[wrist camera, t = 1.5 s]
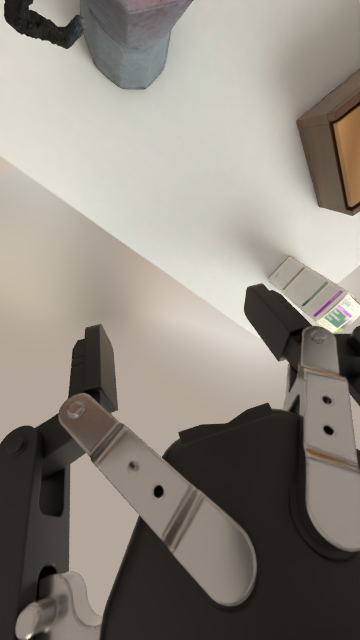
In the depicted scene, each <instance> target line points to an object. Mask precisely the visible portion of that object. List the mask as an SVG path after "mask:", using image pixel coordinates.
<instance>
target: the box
mask: <svg viewBox="0 0 360 640" xmlns="http://www.w3.org/2000/svg"><path fill="white" fill-rule="evenodd" d="M359 103H360V69H359V70H358V71H357V72H355V73H354V74H353V75H352V76H350V77H349V78H348V79H347V80H346V81H344V82H343V83H342V84H341V85H340V86H338V87H337V88H336V89H335V90H333V91H332V92H331V93H330V94H329V95H327V96H326V97H325V98H324V99H322V100H321V101H320V102H319V103H318V104H316V105H315V106H314V107H313V108H312V109H310V110H309V111H308V112H307V113H305V114H304V115H303V116H302V117H301V118H299V119H298V120H297V125H298V129H299V132H300V136H301V140H302V144H303V147H304V151H305V155H306V159H307V162H308V166H309V170H310V174H311V177H312V181H313V185H314V189H315V192H316V196H317V200H318V204H319V207H323V208H326V209H329V210H333V211H337V212H341V213H344V214H348V215H352V216H354V215H355V214H356V213H358V212H359V211H360V202H359V203H357V204H356V205H354V206H353V207H350V206H348V202H347V197H346V191H345V186H344V180H343V175H342V169H341V164H340V159H339V153H338V148H337V142H336V137H335V132H334V126H333V124H334V123H335V122H336V121H337V120H339V119H340V118H341V117H343V116H344V115H345V114H346V113H348V112H349V111H350V110H351V109H353V108H354V107H355V106H357V105H358V104H359Z"/></svg>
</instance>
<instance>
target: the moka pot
mask: <svg viewBox="0 0 360 640" xmlns="http://www.w3.org/2000/svg"><path fill="white" fill-rule="evenodd" d="M192 1H193V0H80V15H76V16H75V17H74V18H73V19H72V20H71V21H70V23H69V24H68V25H67V26H66V27H57V26H56V25H55V24H54V23H53V22H52V21H51V20H50V19H46V18H44V17H43V16H41V15H39V14H38V13H37V12H35V11H33V10H29V5H31V4H32V3H33V0H5V4H4V17H5V20H6V22H7V23H8V24H9V25H11V26H12V27H13V28H14V29H15V30H16V31H17V32H18V33H20V34H21V35H22V34H25V35H26V36H29V37H32V38H35V39H37V38H39V39H41V40H42V41H43V40H48V41H50V42H51V43H52V44H57V45H58V46H61V47H63V48H65V49H68V48H70V47H71V46H72V45H73V44H74V43H75V41H76V40H77V39H78V38H79V37H80V36H81V35H82V33H83V34H84V36H85V39H86V42H87V45H88V48H89V50H90V53H91V55H92V58H93V60H94V64H95V65H96V67H97V68H98V69H99V70H100V71H101V72H102V73H103V74H104V75H105V76H106V77H107V78H108V79H110V80H111V81H112V82H113V83H115V84H116V85H117V86H119V87H120V88H123V89H146V88H147V87H148V86H149V85H150V84H151V83H152V82H153V81H154V80H155V79H156V78H157V76H158V75H159V74H160V73H161V72H162V70H163V69H164V67H165V62H166V57H167V51H168V46H169V40H170V33H171V29H172V28H173V26H174V25H175V23H176V22H177V21H178V19H179V18H180V17H181V16H182V14H183V13H184V12H185V10H186V9H187V8H188V6H189V5H190V4H191V2H192Z"/></svg>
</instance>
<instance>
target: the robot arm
mask: <svg viewBox="0 0 360 640" xmlns="http://www.w3.org/2000/svg"><path fill="white" fill-rule="evenodd" d="M244 312H245V315H246V317H247V319H248V320H249V322H250V323H251V324H252V326H253V327H254V328H255V330H256V331H257V333H258V334H259V335H260V337H261V338H262V340H263V341H264V342H265V344H266V345H267V346H268V348H269V349H270V351H271V352H272V353H273V354H274V356H275V357H276V359H277V360H278V361H283V360H286V359H287V361H288V362H289V364H288V373H287V385H286V396H285V401H284V405H283V409H282V410H281V409H271V407H270V405H269V403H266V404H263V405H259V406H256V407H253V408H250V409H248V410H246V411H244V412H243V413H241V414H240V415H239V416H237V417H236V418H234V419H233V420H232V421H230V422H229V423H225V424H206V425H199V426H196V427H193V428H190V429H187V430H184V431H181V432H179V436H180V438H179V439H178V440H177V441H175V442H174V443H173V444H172V445H171V446H170V447H169V448H168V449H167V450H166V451H165V453H164V455H163V456H162V457H161V456H159V455H158V454H157V453H156V452H155V451H154V450H153V449H152V448H151V447H149V446H148V445H147V444H146V443H145V442H144V441H143V440H142V439H140V438H139V437H138V436H137V435H136V434H135V433H134V432H132V431H131V430H130V429H129V428H128V427H127V426H125V425H124V424H122V423H120V422H119V421H118V420H117V419H115V418H114V417H113V416H112V414H111V412H114V411H117V410H118V404H117V392H116V378H115V365H114V353H113V348H112V345H111V342H110V340H109V338H108V336H107V334H106V332H105V330H104V328H103V326H102V325H101V324H99V325H95V326H91V327H87V328H86V329H85V339H81V340H78V341H77V343H76V345H75V346H74V348H73V352H72V364H71V366H72V368H71V375H70V386H69V396H68V399H67V400H66V401H65V402H64V404H63V405H62V406H61V408H60V410H59V413H58V414H56V415H55V416H54V417H52V418H51V419H49V420H48V421H46V422H44V423H43V424H41V425H40V426H38V427H36V428H33V427H32V426H22V427H19V428H17V429H15V430H13V431H12V432H10V433H9V434H8V435H7V436H6V437H5V438H4V439H3V441H2V442H1V444H0V640H360V450H358V449H356V446H355V437H354V429H353V420H352V413H351V404H350V397H349V393H350V395H351V396H352V397H353V398H354V399H355V400H356V402H357V403H358V404H359V406H360V326H358V327H356V328H355V329H354V331H353V332H352V334H333V333H332V332H330V331H329V330H327V329H325V328H323V327H319V326H312V325H311V324H310V323H309V322H308V321H307V320H306V319H305V318H304V317H303V316H302V315H301V314H300V313H299V312H298V311H297V310H296V309H295V308H294V307H292V305H291V304H290V303H289V302H287V300H286V299H285V298H284V297H283V296H282V295H281V294H279V293H277V292H275V291H273V290H271V291H269V290H268V289H267V288H266V287H265V285H263V284H257V285H253V286H249V287H247V290H246V297H245V304H244ZM85 453H87V454H88V455H89V456H90V458H91V461H92V462H93V463H94V464H95V466H96V467H97V468H98V469H99V470H100V471H101V472H102V474H103V475H104V476H105V477H106V478H107V479H108V480H109V481H110V482H111V484H112V485H113V486H114V487H115V488H116V489H117V490H118V492H119V493H120V494H121V495H122V496H123V497H124V498H125V499H126V500H127V502H128V503H129V504H130V505H131V506H132V507H133V508H134V509H135V511H136V512H137V513H138V514H139V517H138V520H137V522H136V525H135V528H134V530H133V533H132V536H131V539H130V541H129V544H128V547H127V549H126V552H125V555H124V557H123V560H122V563H121V565H120V568H119V571H118V573H117V576H116V579H115V582H114V584H113V587H112V590H111V592H110V595H109V598H108V600H107V603H106V607H105V611H104V614H103V617H102V616H99V615H97V614H96V613H95V612H94V611H93V610H92V608H91V606H90V604H89V601H88V597H87V590H86V585H85V582H84V579H83V578H82V576H81V575H80V574H78V573H76V572H74V571H69V517H70V515H69V512H70V464H71V463H72V462H74V461H75V460H77V459H78V458H79V457H81V456H82V455H84V454H85Z"/></svg>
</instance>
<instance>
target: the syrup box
mask: <svg viewBox="0 0 360 640" xmlns="http://www.w3.org/2000/svg"><path fill="white" fill-rule="evenodd" d="M268 280H269V281H270V282H271V283H272V284H273V285H274V286H275V287H276V288H277V289H279V290H280V291H281V292H282V293H283V294H284V295H285V296H286V297H287V298H289V299H290V300H291V301H292V302H293V303H294V304H295V305H297V306H298V307H299V308H300V309H301V310H302V311H304V312H305V313H306V314H307V315H309V316H310V317H311V318H312V319H313V320H314V321H316V322H317V323H318V324H320V325H321V326H322V327H324V328H325V329H327V330H329V331H330V332H332V333H333V334H337V333H339V332H340V331H342V330H343V329H344V328H346V327H347V326H349V325H350V324H351V323H352V322H353V321H355V320H356V319H357V318H358V317H359V316H360V303H359V302H358V300H357V299H356V298H355V297H354V296H352V295H351V294H350V293H349V292H348V291H347V290H345V289H343V288H342V287H340V286H338V285H337V284H335V283H333V282H332V281H330V280H329V279H327V278H325V277H324V276H322V275H320V274H319V273H317V272H316V271H314V270H312V269H310V268H309V267H307V266H306V265H304V264H302V263H301V262H299V261H297V260H296V259H294V258H292V257H288V258H287V259H286V260H285V261H284V262H283V263H282V264H281V266H280V267H279V268H278V269H277V270H276V271H275V272H274V273H273V274H272V275H271V276H270V278H269V279H268Z"/></svg>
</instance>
